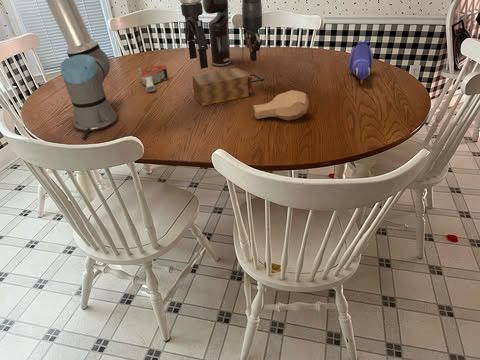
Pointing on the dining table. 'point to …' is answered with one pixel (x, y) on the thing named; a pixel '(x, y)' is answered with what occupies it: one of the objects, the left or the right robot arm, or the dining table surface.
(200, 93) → the brown wooden block
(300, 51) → the dining table surface
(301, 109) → the squash
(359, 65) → the toy
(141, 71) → the tape dispenser
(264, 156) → the dining table surface
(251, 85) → the drawer
